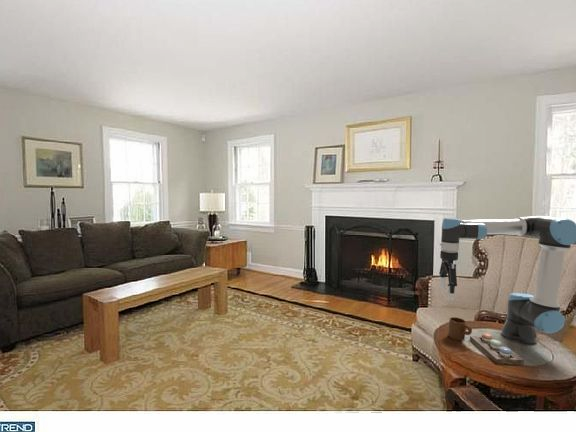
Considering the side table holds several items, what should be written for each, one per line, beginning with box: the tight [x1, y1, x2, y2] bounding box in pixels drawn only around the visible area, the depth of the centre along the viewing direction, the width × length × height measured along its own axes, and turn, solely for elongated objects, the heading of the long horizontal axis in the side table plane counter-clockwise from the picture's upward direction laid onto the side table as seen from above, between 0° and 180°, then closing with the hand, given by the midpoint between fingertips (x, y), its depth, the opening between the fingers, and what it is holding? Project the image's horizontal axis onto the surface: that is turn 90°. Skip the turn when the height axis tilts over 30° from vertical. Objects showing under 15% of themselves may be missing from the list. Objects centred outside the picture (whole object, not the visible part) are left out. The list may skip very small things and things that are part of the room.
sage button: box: [490, 339, 502, 350], centre depth 154 cm, size 4×4×3 cm
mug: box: [447, 316, 473, 342], centre depth 165 cm, size 12×8×9 cm, turn 21°
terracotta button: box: [481, 332, 493, 343], centre depth 161 cm, size 4×4×3 cm
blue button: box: [499, 346, 512, 358], centre depth 147 cm, size 4×4×3 cm
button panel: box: [469, 335, 525, 365], centre depth 154 cm, size 12×22×2 cm, turn 179°
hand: (446, 294), depth 154 cm, fingers open, 13 cm apart
